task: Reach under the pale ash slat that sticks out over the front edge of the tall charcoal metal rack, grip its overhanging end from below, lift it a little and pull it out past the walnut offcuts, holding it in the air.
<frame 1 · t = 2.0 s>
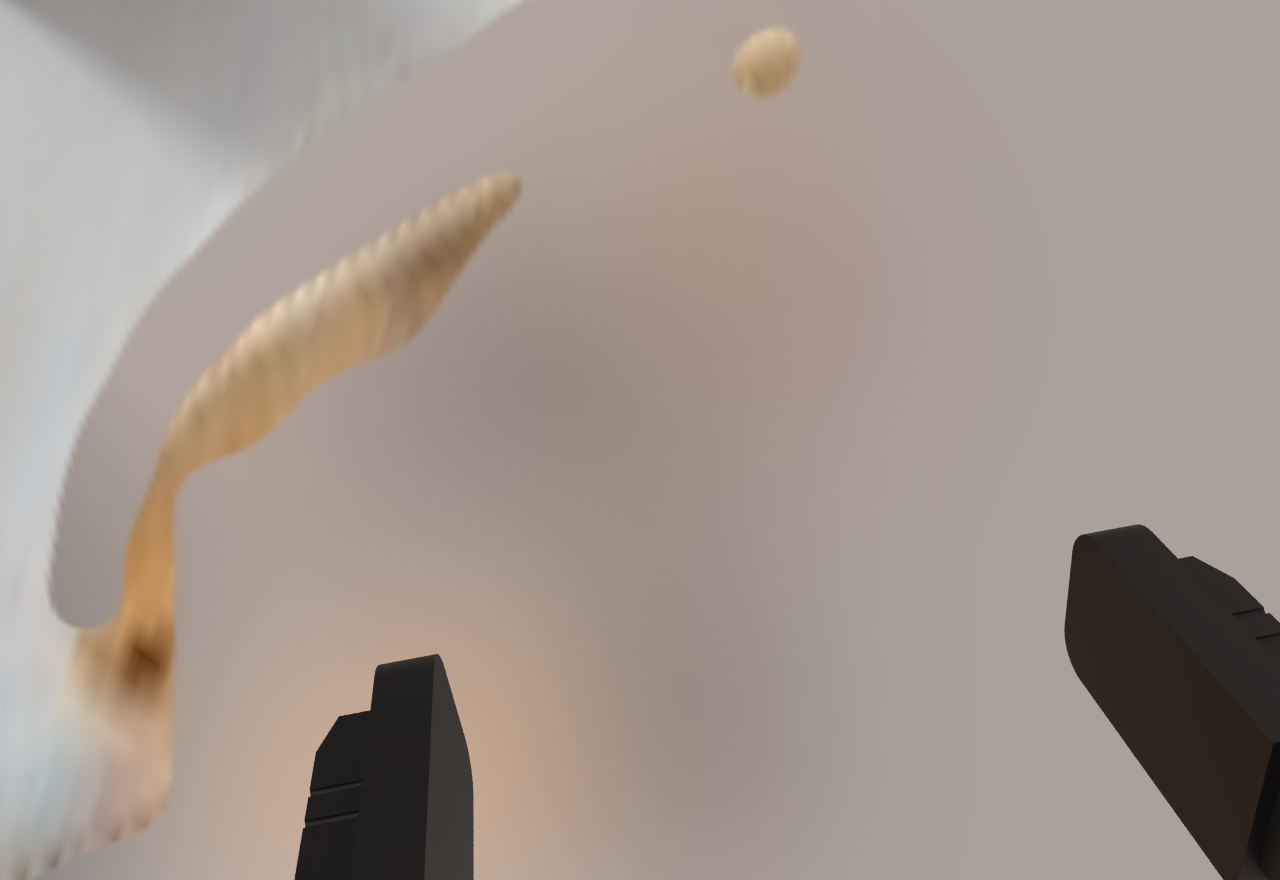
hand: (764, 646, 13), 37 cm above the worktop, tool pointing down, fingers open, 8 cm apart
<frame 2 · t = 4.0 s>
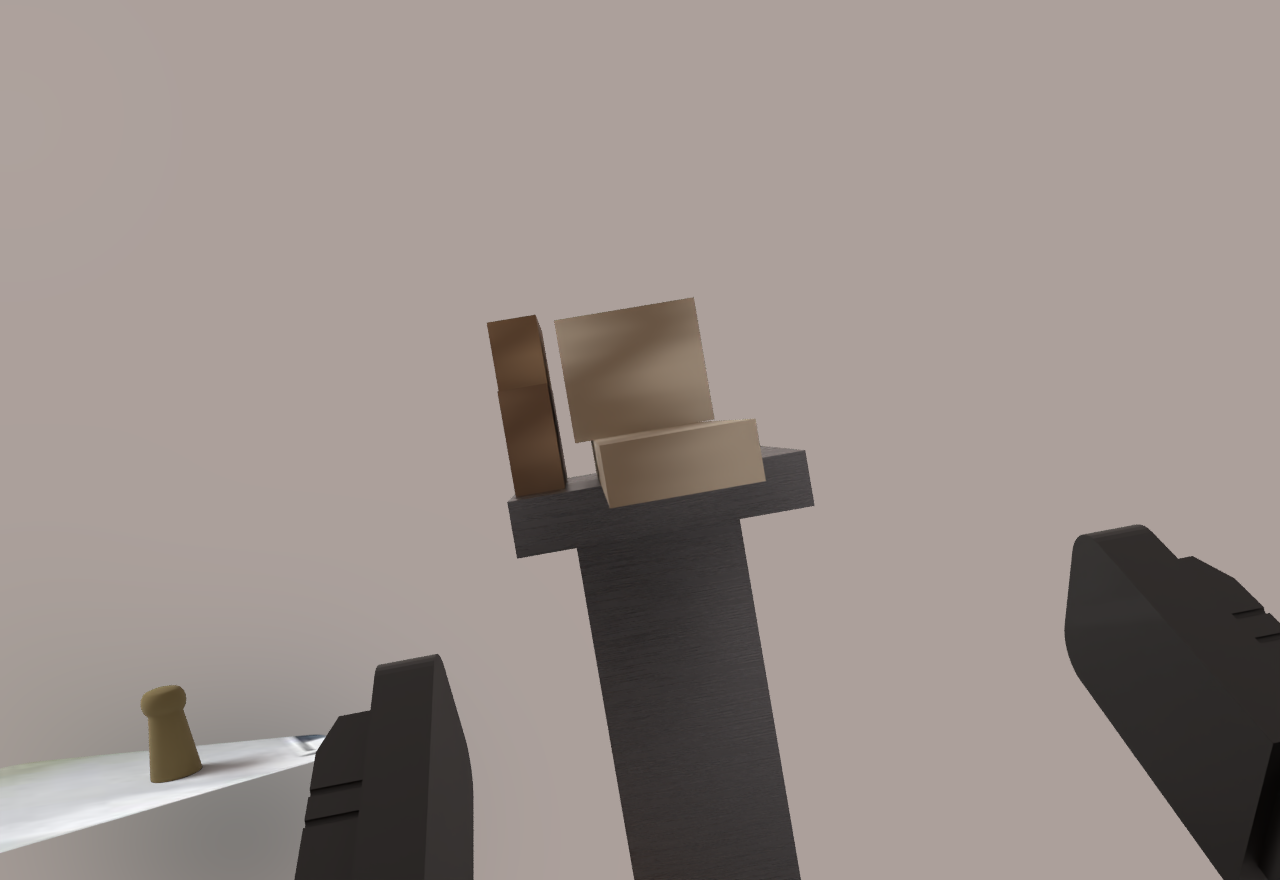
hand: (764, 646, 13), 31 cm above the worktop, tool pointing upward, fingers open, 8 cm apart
slat: (657, 476, 28), point 32 cm above the worktop, touching rack
cork: (176, 775, 133), on the worktop
offcuts: (647, 470, 32), resting on rack
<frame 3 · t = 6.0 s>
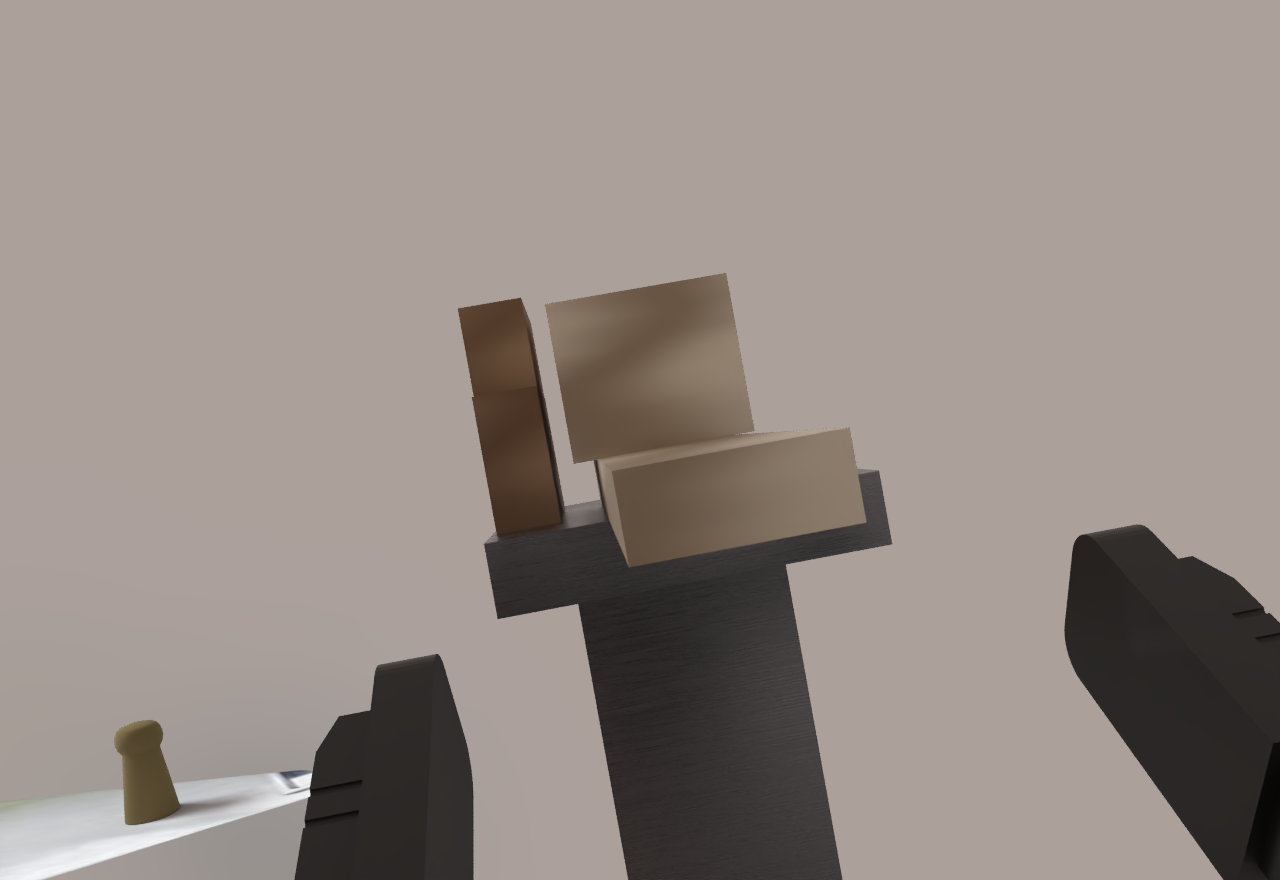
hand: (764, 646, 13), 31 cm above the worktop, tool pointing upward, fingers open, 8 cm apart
slat: (683, 506, 21), point 32 cm above the worktop, touching rack
cork: (153, 816, 126), on the worktop
offcuts: (666, 497, 25), resting on rack
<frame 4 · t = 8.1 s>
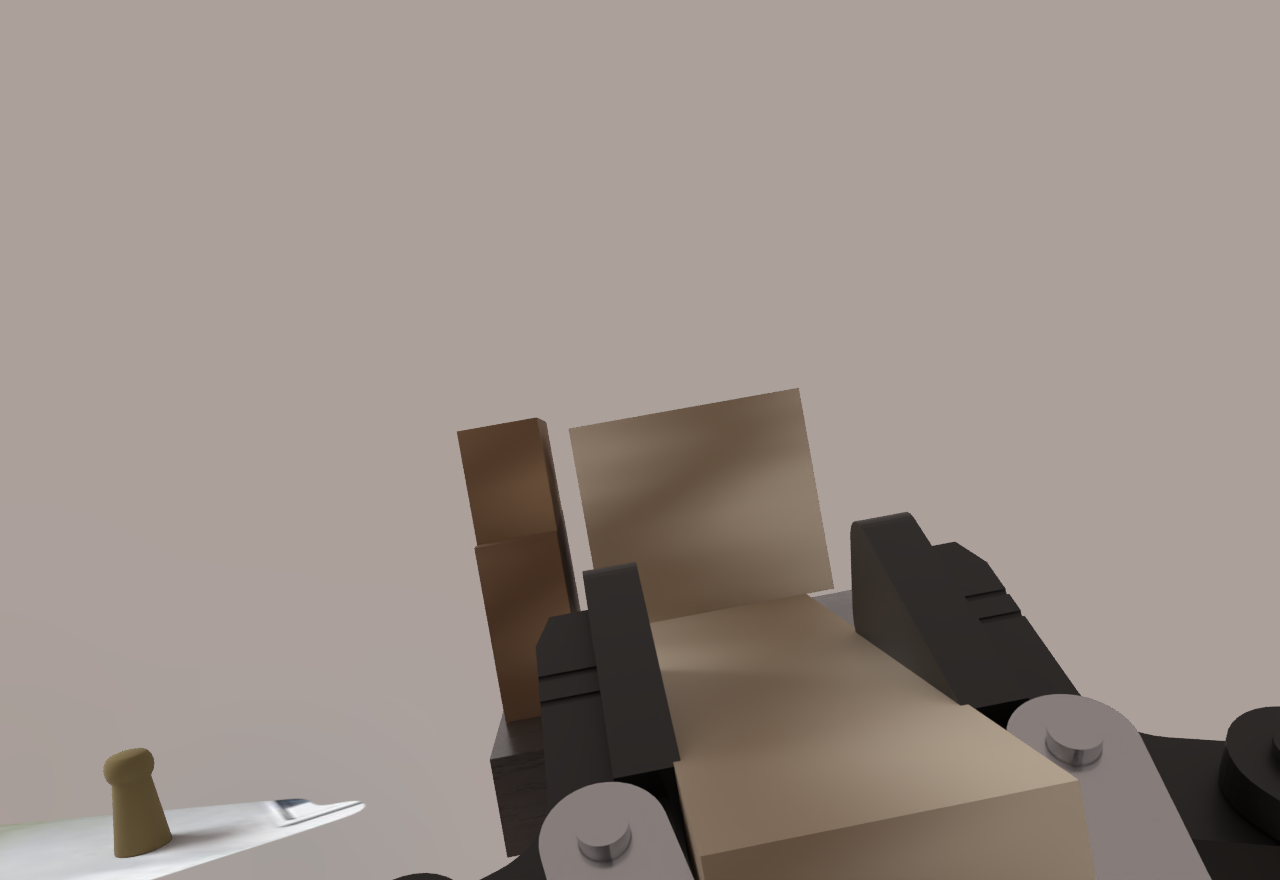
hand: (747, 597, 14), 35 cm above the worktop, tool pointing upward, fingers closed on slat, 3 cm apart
slat: (751, 708, 16), point 33 cm above the worktop, touching gripper, rack
cork: (144, 847, 121), on the worktop
offcuts: (716, 655, 20), resting on rack
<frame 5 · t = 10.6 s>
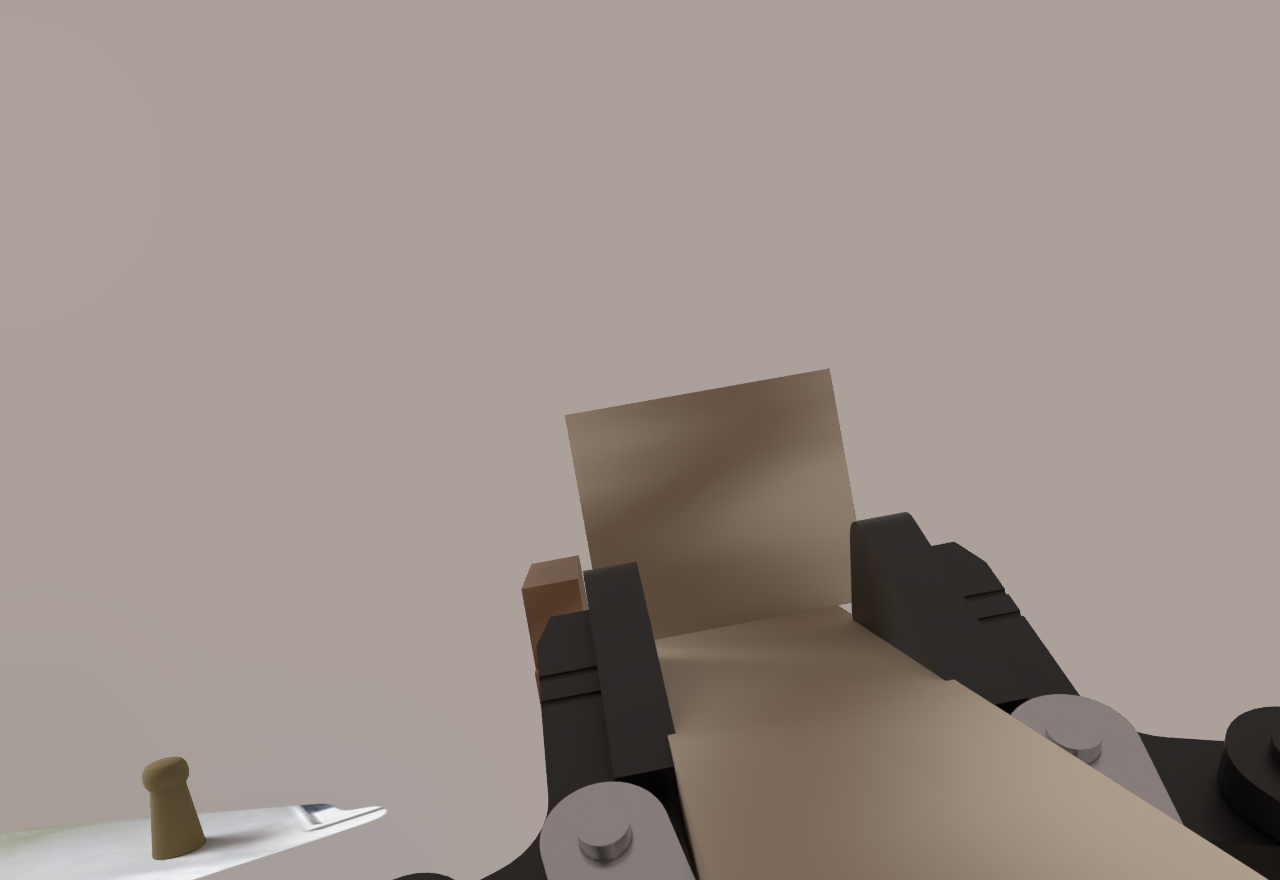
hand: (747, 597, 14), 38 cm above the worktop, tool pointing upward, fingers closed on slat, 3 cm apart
slat: (778, 741, 14), point 37 cm above the worktop, touching gripper
cork: (179, 850, 129), on the worktop
offcuts: (705, 740, 28), resting on rack
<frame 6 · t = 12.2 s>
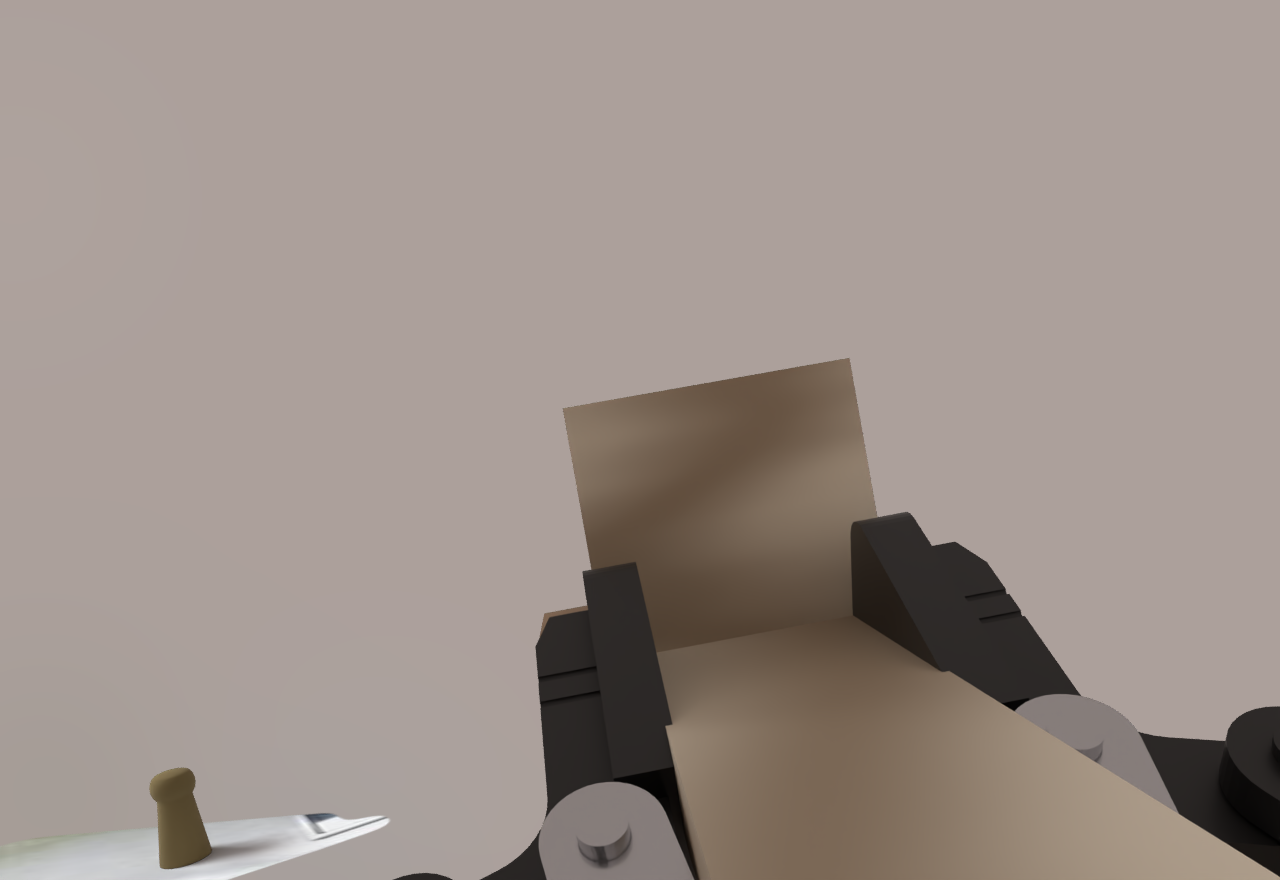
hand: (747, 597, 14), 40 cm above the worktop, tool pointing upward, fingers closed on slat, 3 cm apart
slat: (796, 765, 13), point 39 cm above the worktop, touching gripper
cork: (186, 859, 132), on the worktop
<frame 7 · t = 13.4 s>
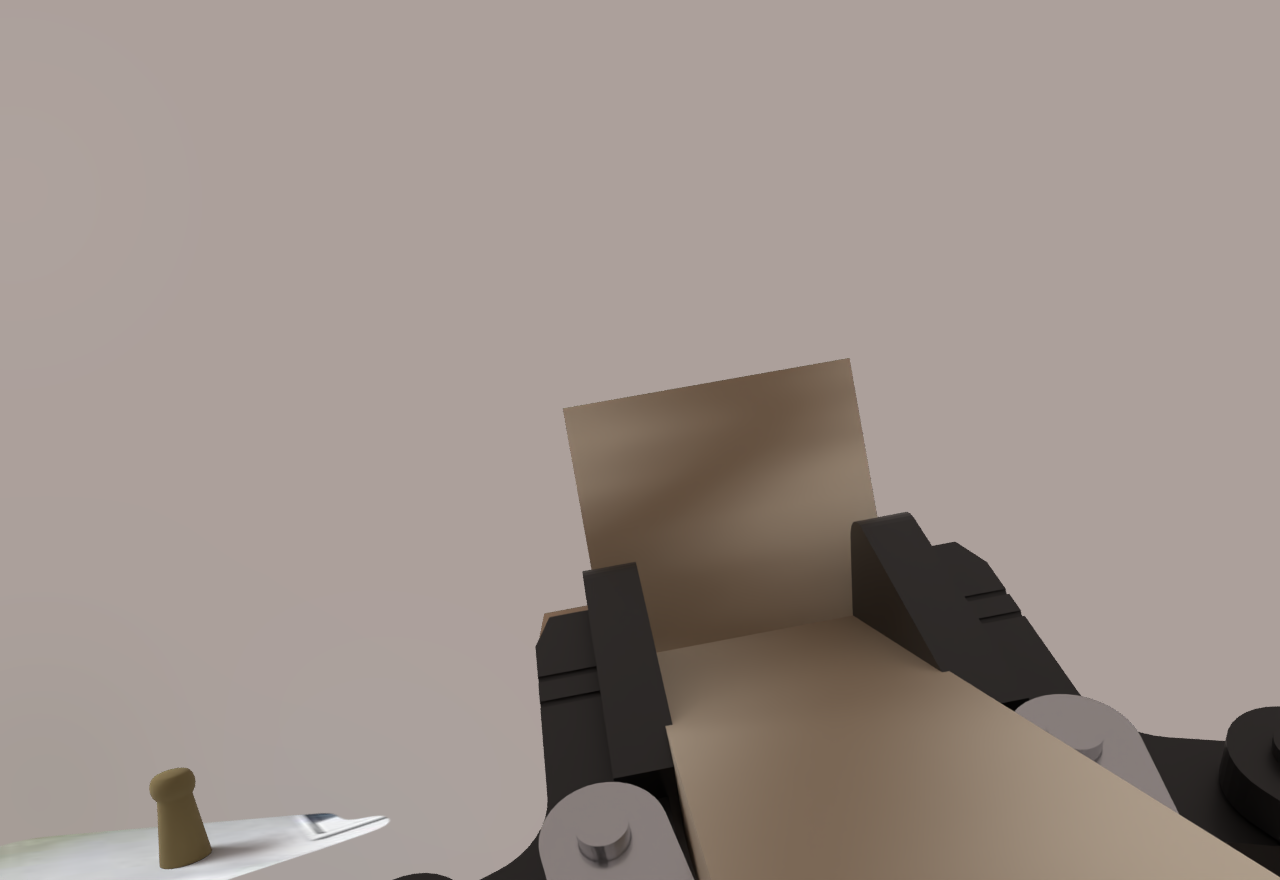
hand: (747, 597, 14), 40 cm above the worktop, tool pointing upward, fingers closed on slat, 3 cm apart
slat: (796, 765, 13), point 39 cm above the worktop, touching gripper
cork: (186, 859, 132), on the worktop
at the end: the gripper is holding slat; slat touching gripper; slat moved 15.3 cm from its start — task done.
